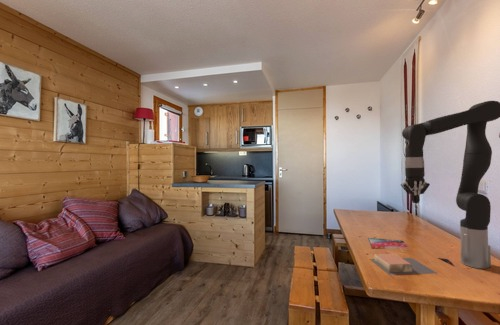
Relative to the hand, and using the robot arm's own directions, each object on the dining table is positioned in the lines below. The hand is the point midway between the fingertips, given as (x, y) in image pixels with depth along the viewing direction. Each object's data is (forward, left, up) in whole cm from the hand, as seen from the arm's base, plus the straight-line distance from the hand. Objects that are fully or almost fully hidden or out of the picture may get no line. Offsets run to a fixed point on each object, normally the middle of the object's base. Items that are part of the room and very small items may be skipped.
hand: (415, 202), depth 112 cm
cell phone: (-8, -1, -29) cm, 30 cm away
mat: (+11, +5, -29) cm, 31 cm away
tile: (+10, +5, -26) cm, 28 cm away
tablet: (0, -23, -29) cm, 37 cm away
